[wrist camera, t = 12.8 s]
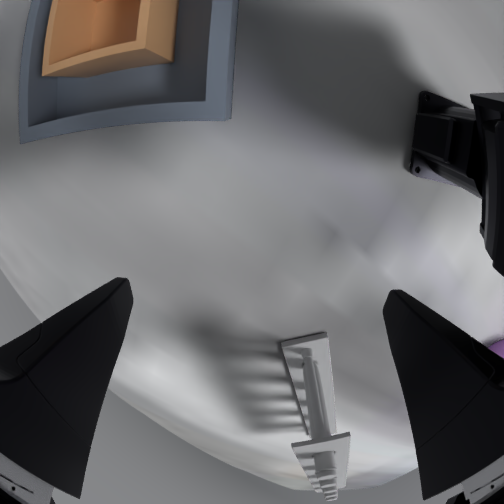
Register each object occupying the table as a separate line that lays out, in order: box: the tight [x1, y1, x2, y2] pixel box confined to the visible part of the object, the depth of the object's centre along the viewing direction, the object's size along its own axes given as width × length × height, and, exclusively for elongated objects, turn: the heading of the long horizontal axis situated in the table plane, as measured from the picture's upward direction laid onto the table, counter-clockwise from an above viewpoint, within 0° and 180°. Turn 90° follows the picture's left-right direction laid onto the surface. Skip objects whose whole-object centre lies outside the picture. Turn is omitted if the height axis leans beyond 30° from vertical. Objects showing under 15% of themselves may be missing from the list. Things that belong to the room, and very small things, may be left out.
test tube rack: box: [281, 332, 350, 501], centre depth 25 cm, size 25×4×13 cm, turn 15°
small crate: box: [42, 0, 180, 78], centre depth 10 cm, size 6×6×5 cm
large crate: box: [19, 0, 239, 144], centre depth 11 cm, size 14×14×4 cm
